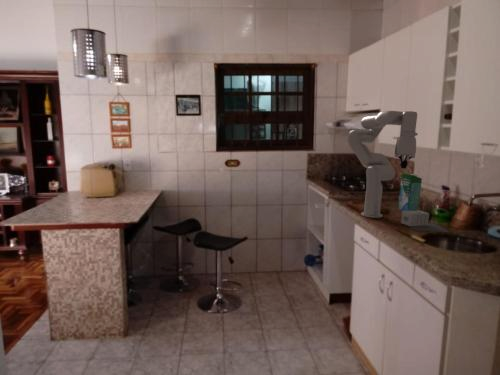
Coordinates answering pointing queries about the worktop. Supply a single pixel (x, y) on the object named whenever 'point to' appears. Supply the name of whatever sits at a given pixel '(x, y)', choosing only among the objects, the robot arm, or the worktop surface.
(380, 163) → the robot arm
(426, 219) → the supplement box
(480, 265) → the worktop surface
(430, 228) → the mat
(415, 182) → the milk carton
